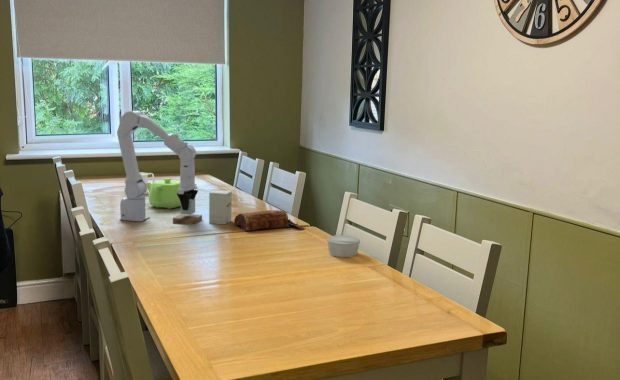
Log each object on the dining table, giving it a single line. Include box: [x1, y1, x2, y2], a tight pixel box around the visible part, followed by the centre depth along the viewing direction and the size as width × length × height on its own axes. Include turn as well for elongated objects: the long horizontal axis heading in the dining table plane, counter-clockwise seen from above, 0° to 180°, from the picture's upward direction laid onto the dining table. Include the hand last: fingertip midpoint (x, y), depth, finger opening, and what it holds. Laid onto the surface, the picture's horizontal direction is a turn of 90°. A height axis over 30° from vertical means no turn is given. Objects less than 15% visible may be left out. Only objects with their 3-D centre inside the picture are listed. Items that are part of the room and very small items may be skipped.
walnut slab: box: [172, 213, 203, 225], centre depth 243 cm, size 9×9×2 cm
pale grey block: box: [180, 198, 196, 214], centre depth 242 cm, size 4×4×6 cm
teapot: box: [146, 177, 181, 210], centre depth 271 cm, size 18×20×13 cm
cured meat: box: [233, 209, 305, 232], centre depth 238 cm, size 18×25×7 cm
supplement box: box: [208, 189, 233, 225], centre depth 242 cm, size 7×7×13 cm
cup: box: [139, 171, 156, 195], centre depth 303 cm, size 8×12×10 cm
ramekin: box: [326, 234, 361, 258], centre depth 201 cm, size 11×11×5 cm
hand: (187, 208), depth 242 cm, fingers closed on pale grey block, 4 cm apart
